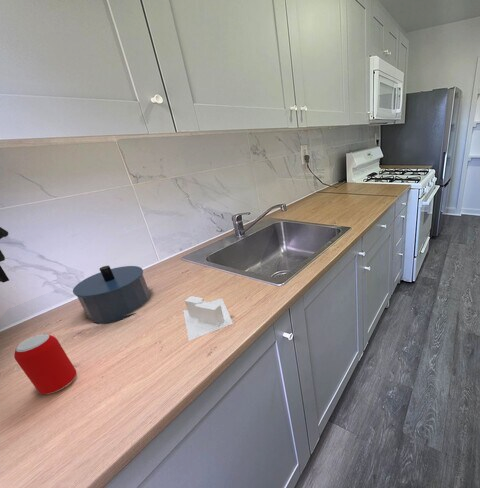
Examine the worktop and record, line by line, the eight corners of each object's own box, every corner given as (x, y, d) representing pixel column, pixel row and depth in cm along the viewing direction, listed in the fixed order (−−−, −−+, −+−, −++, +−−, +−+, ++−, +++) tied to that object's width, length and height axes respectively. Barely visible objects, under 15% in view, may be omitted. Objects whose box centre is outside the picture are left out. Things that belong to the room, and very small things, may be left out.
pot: (79, 330, 73) (63, 301, 70) (102, 299, 87) (91, 274, 83) (143, 315, 78) (132, 288, 74) (156, 288, 91) (147, 264, 88)
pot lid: (61, 305, 69) (52, 288, 67) (90, 275, 84) (83, 261, 82) (134, 290, 74) (127, 274, 72) (150, 264, 88) (145, 251, 86)
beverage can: (78, 367, 61) (54, 326, 56) (78, 384, 57) (51, 342, 52) (42, 383, 58) (13, 341, 53) (39, 403, 53) (6, 359, 48)
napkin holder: (233, 323, 72) (229, 306, 70) (188, 341, 67) (182, 323, 65) (221, 297, 84) (217, 282, 82) (182, 310, 79) (177, 294, 76)
